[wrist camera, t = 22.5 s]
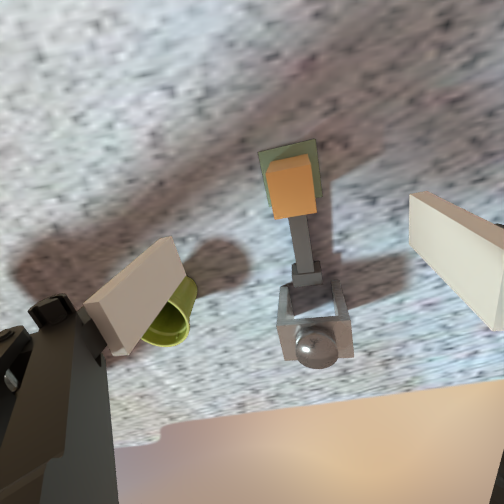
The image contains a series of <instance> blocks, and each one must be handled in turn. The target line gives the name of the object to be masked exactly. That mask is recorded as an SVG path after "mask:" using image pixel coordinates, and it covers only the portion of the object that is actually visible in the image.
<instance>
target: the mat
mask: <svg viewBox="0 0 504 504" xmlns="http://www.w3.org/2000/svg"><path fill="white" fill-rule="evenodd" d="M304 154H308V157H309V160H310V163H311V169H312V177H313V185H314V193H315V198H319V197H323V196H322V188H321V180H320V172H319V164H318V155H317V147H316V139H312V140H308V141H304V142H299V143H295V144H291V145H287V146H283V147H278V148H274V149H270V150H266V151H261V152H258V156H259V161H260V165H261V170H262V175H263V180H264V185H265V189H266V194H267V199H268V204H269V207H271V206H272V204H271V199H270V194H269V189H268V184H267V179H266V174H265V173H266V171H267V169H268V167H269V164H270V162H272V161H276V160H281V159H285V158H290V157H295V156H299V155H304Z"/></svg>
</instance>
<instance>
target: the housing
mask: <svg viewBox="0 0 504 504" xmlns="http://www.w3.org/2000/svg"><path fill="white" fill-rule="evenodd" d="M331 285H332V293H333V301H334V309H335V315H336V316H328V317H316V318H305V319H294V314H293V309H292V304H291V299H290V294H289V289H288V286H282V287H280V293H279V304H278V314H277V325H276V327H277V331H278V335H279V339H280V343H281V347H282V351H283V355H284V359H285V361H289V360H298V361H299V362H300V363H301V364H303V365H304V366H306V367H309V368H312V369H324V368H327V367H330V366H332V365H333V364H334V363H335V362H336V361H337V359H338V358H352V357H354V350H353V340H352V330H351V320H350V316H349V313H348V309H347V306H346V302H345V299H344V295H343V292H342V288H341V284H340V281H339V280H335V281H331Z"/></svg>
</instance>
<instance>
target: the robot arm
mask: <svg viewBox="0 0 504 504" xmlns="http://www.w3.org/2000/svg"><path fill="white" fill-rule="evenodd" d="M409 245H410V246H411V247H412V248H413V249H414V250H415V251H416V252H417V253H418V254H419V255H420V256H421V257H422V258H423V259H424V261H425V262H426V263H427V264H428V265H429V266H430V267H431V268H432V269H433V270H434V271H435V272H436V273H437V274H438V275H439V276H440V277H441V278H442V279H443V280H444V281H445V282H446V283H447V284H448V285H449V286H450V287H451V289H452V290H453V291H454V292H455V293H456V294H457V295H458V296H459V297H460V298H461V299H462V300H463V301H464V302H465V303H466V304H467V305H468V306H469V307H470V308H471V309H472V310H473V311H474V312H475V313H476V314H477V316H478V317H479V318H480V319H481V320H482V321H483V322H484V323H485V324H486V325H487V326H488V327H489V328H490V329H491V330H492V331H504V225H502V224H493V223H491V222H489V221H487V220H485V219H483V218H480V217H478V216H476V215H474V214H472V213H470V212H468V211H466V210H464V209H462V208H460V207H458V206H456V205H454V204H452V203H450V202H448V201H446V200H444V199H442V198H440V197H438V196H436V195H434V194H432V193H430V192H428V191H424V192H418V193H412V194H410V196H409ZM185 276H186V273H185V270H184V268H183V265H182V262H181V260H180V257H179V254H178V252H177V249H176V247H175V244H174V241H173V239H172V236H169V237H164V238H160V239H159V240H157V241H156V242H155V243H154V244H153V245H152V246H150V247H149V248H148V249H147V250H146V251H144V252H143V253H142V254H141V255H140V256H139V257H137V258H136V259H135V260H134V261H133V262H131V263H130V264H129V265H128V266H127V267H126V268H124V269H123V270H122V271H121V272H120V273H118V274H117V275H116V276H115V277H114V278H112V279H111V280H110V281H109V282H108V283H107V284H105V285H104V286H103V287H102V288H101V289H99V290H98V291H97V292H96V293H95V294H94V295H92V296H91V297H90V298H89V299H88V300H86V301H85V302H84V303H83V307H82V308H81V309H80V310H78V311H77V312H76V310H75V308H74V307H73V305H72V303H71V302H70V300H69V299H68V297H67V295H66V294H57V295H54V296H51V297H48V298H46V299H44V300H42V301H40V302H39V303H37V304H35V305H34V306H33V307H31V308H30V309H29V310H28V313H29V314H30V316H31V317H32V319H33V320H34V322H35V323H36V324H37V326H38V327H39V332H36V333H33V334H30V335H29V333H28V332H27V330H26V329H25V328H24V326H15V327H12V328H10V329H5V330H3V331H1V332H0V504H119V501H118V490H117V480H116V468H115V457H114V446H113V436H112V425H111V414H110V403H109V392H108V381H107V370H106V360H105V358H104V356H103V354H102V353H101V352H102V351H103V350H104V348H105V347H106V346H108V348H109V350H110V351H111V353H112V355H113V356H124V355H129V354H130V353H131V351H132V350H133V349H134V347H135V346H136V344H137V343H138V342H139V340H140V339H141V337H142V336H143V335H144V333H145V332H146V330H147V329H148V328H149V326H150V325H151V323H152V322H153V321H154V319H155V318H156V317H157V315H158V314H159V312H160V311H161V310H162V308H163V307H164V305H165V304H166V303H167V301H168V300H169V298H170V297H171V296H172V294H173V293H174V291H175V290H176V289H177V287H178V286H179V285H180V283H181V282H182V280H183V279H184V278H185ZM4 376H6V377H4ZM489 504H504V451H503V454H502V458H501V462H500V466H499V469H498V473H497V477H496V480H495V484H494V488H493V492H492V496H491V499H490V503H489Z"/></svg>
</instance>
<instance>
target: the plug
mask: <svg viewBox="0 0 504 504" xmlns="http://www.w3.org/2000/svg"><path fill="white" fill-rule="evenodd" d="M265 174H266V179H267V184H268V189H269V194H270V199H271V204H272V209H273V214H274V219H275V220H276V219H282V218H288V219H289V225H290V230H291V236H292V242H293V247H294V253H295V259H296V264H293V265H292V280H293V285H294V287H303V286H312V285H322V284H323V281H322V273H321V267H320V262H319V261H317V262H313V258H312V251H311V244H310V237H309V230H308V223H307V216H306V214H312V213H317V209H316V201H315V193H314V185H313V177H312V169H311V163H310V160H309V157H308V154H304V155H299V156H295V157H290V158H285V159H281V160H276V161H272V162H270V164H269V167H268V169H267V171H266V173H265Z"/></svg>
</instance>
